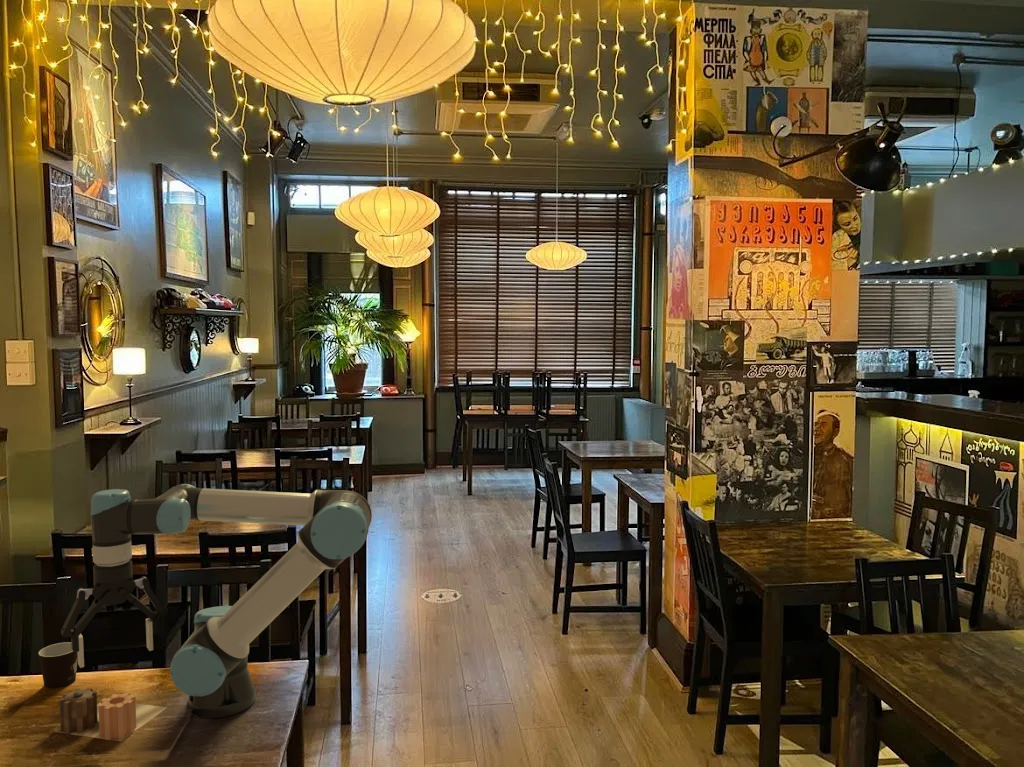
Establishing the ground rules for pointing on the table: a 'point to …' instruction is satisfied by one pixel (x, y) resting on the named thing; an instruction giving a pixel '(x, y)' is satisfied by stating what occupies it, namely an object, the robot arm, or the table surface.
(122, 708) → the planet gear
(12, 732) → the table surface
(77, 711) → the pinned planet gear
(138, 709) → the carrier
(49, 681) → the coffee mug
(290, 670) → the table surface
